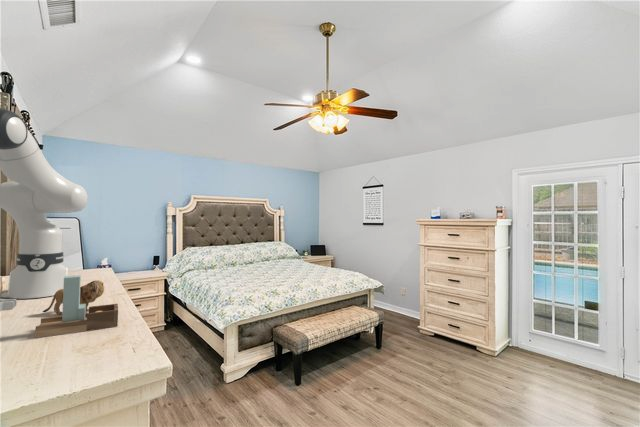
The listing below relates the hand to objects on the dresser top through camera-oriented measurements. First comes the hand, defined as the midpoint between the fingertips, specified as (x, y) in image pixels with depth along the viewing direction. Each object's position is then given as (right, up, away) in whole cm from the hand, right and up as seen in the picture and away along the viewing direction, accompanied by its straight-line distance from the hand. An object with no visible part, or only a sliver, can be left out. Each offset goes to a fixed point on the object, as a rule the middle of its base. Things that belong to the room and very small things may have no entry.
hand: (15, 303), depth 69 cm
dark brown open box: (+13, -8, +9) cm, 18 cm away
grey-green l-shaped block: (+8, -6, +6) cm, 12 cm away
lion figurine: (-1, -8, +18) cm, 20 cm away
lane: (+7, -8, +5) cm, 11 cm away
